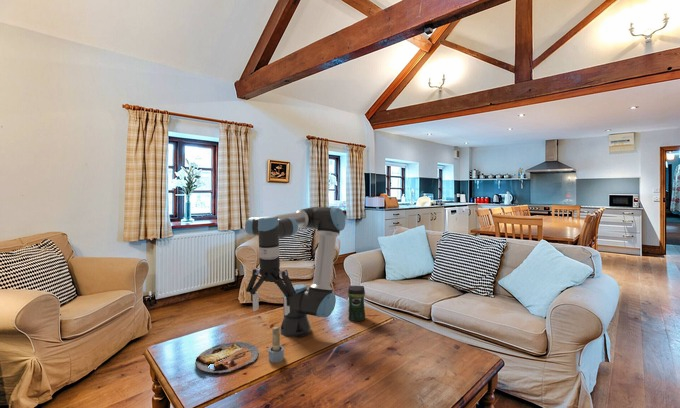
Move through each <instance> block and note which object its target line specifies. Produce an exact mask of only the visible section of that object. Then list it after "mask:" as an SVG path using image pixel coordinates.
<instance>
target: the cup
mask: <svg viewBox="0 0 680 408" xmlns="http://www.w3.org/2000/svg"><path fill="white" fill-rule="evenodd" d="M284 348H285V347H284V346H283V345H281V344H280V351H277V352H274V351H273V345H271V346H270V347H269V348H268V361H269V362H270V363H272V364H273V363H274V364H275V363H280V362H283V360H284V359H285V357H284V356H285V350H284Z"/></svg>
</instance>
